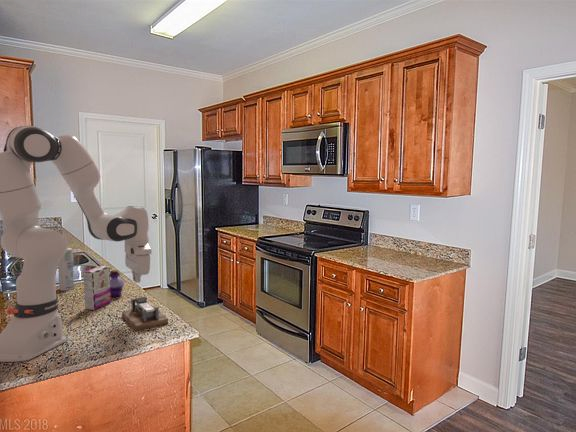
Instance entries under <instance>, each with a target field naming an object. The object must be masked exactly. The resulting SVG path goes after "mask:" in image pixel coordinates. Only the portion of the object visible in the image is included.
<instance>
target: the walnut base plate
mask: <svg viewBox="0 0 576 432" xmlns="http://www.w3.org/2000/svg"><path fill="white" fill-rule="evenodd" d="M151 306H152V307H153V308H154V307H155V306H153V305H151ZM121 317H122V318H123V319H124V320H125V322H127V323H128V324H129V325H130V327H132V328H133V329H134V331H135V332H137V331H141V330H146V329H151V328H154V327H160V326H164V325H168V324H169V318H168V317H167V316H165V315H164V314H163V313H162V312H161V311H159V320H155V319H150V320H146V322H145V323H144V322H142V318H141V317H140V316H139V315H138V314H137V313H135V312H132V311H131V309H130V310H123V311H122V312H121Z"/></svg>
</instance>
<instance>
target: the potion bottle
mask: <svg viewBox="0 0 576 432" xmlns="http://www.w3.org/2000/svg"><path fill="white" fill-rule="evenodd" d="M120 275H121V273H120V272H119V270H110V284H111V299H112V298H120V297H121V296H122V293H123V287H124V285H125V280H124V279H122V278H119V277H120Z"/></svg>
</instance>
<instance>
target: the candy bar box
mask: <svg viewBox="0 0 576 432" xmlns="http://www.w3.org/2000/svg"><path fill="white" fill-rule="evenodd" d="M110 272H111V269H110V265H99V266H96V267H93V268H91V269H88V270H84V271H83V272H82V273H83V274H82V276H83V290H84V291H83V292H84V308H85V310H88V311H89V310H91V311H97V310H98V309H100V308H102V307H104V306H107V305H108V304H110V303H112V298H111V284H110V280H111V277H110Z"/></svg>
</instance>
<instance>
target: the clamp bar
mask: <svg viewBox="0 0 576 432" xmlns="http://www.w3.org/2000/svg"><path fill="white" fill-rule="evenodd" d="M143 297H144V296H142V297H137V298H134V299H135V304H136V305H139V306H140V307H141V308H142V309H145V310H146V313H147V312H151V311H154V308H153V307H154V306H153V305H151V304H150V303H148V301H146V300H145V299H144V298H143ZM152 306H153V307H152Z"/></svg>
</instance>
